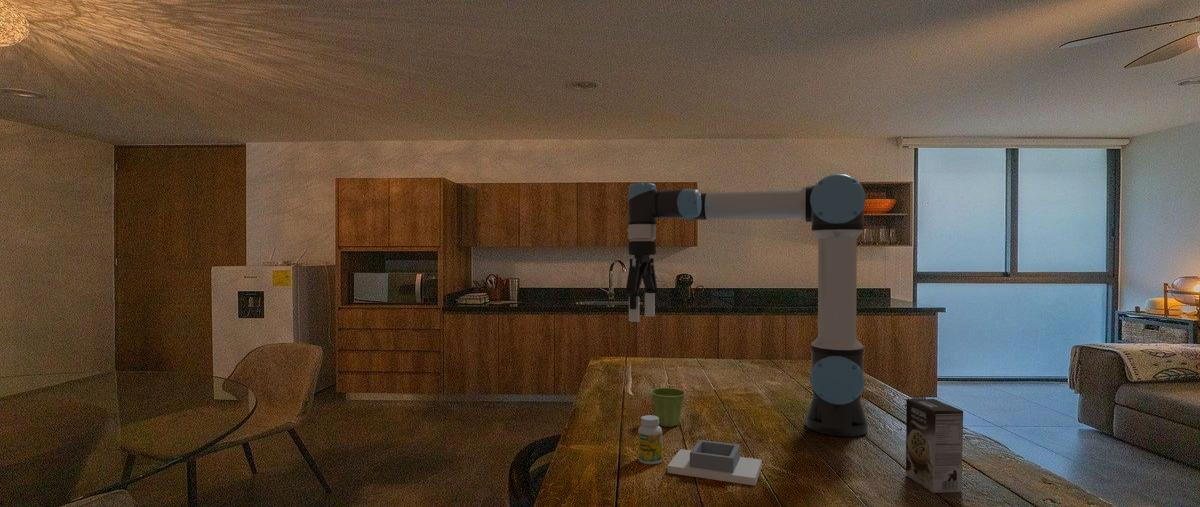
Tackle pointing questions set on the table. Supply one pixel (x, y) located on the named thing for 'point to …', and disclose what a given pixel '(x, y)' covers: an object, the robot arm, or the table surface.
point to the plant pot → (668, 405)
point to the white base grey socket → (716, 463)
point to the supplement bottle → (650, 440)
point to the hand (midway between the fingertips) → (642, 318)
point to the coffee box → (934, 445)
